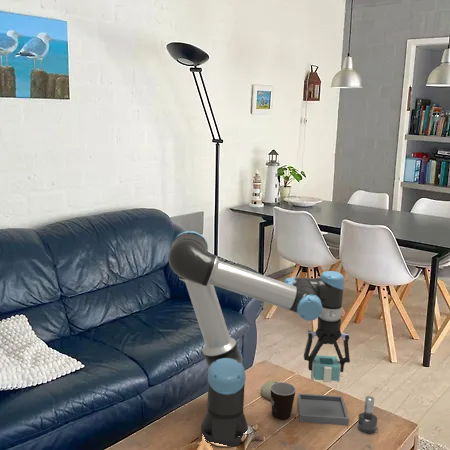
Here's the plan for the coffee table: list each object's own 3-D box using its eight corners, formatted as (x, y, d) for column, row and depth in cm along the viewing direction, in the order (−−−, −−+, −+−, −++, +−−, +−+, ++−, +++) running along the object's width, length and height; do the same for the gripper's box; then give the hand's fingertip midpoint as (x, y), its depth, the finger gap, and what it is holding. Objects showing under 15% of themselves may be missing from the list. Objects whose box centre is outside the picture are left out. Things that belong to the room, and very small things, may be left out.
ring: (312, 368, 186) (313, 355, 185) (335, 369, 185) (336, 356, 184) (315, 381, 177) (316, 367, 176) (339, 382, 176) (340, 369, 175)
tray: (300, 421, 179) (300, 415, 178) (297, 399, 192) (297, 393, 192) (348, 425, 178) (348, 418, 177) (342, 402, 191) (342, 396, 191)
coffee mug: (292, 423, 177) (294, 396, 175) (267, 420, 179) (268, 393, 177) (295, 405, 188) (297, 379, 186) (271, 401, 190) (272, 376, 188)
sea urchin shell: (286, 384, 199) (286, 377, 192) (284, 405, 195) (285, 400, 188) (262, 381, 200) (261, 375, 193) (259, 402, 196) (259, 397, 189)
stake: (359, 433, 174) (362, 402, 171) (356, 422, 179) (359, 393, 177) (377, 434, 173) (381, 404, 171) (374, 423, 179) (377, 394, 177)
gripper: (299, 320, 174) (295, 383, 179) (363, 323, 173) (357, 386, 178) (297, 311, 181) (293, 372, 186) (359, 314, 180) (353, 375, 185)
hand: (324, 379), depth 182 cm, fingers closed on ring, 8 cm apart
